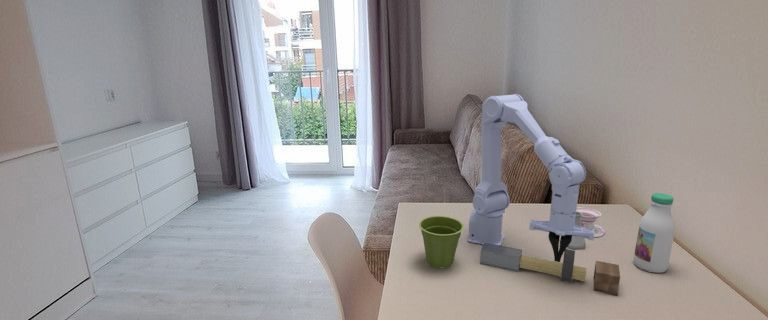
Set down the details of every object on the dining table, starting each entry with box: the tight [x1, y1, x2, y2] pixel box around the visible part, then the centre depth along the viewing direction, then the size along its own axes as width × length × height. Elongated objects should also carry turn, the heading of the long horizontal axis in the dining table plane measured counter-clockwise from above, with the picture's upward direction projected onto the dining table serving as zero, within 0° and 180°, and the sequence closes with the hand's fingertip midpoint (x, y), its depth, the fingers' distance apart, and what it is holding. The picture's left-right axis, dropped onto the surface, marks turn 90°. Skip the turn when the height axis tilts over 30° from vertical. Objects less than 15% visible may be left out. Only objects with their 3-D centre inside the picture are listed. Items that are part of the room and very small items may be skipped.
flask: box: [567, 211, 586, 250], centre depth 120 cm, size 7×7×10 cm
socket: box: [592, 260, 621, 297], centre depth 100 cm, size 5×6×5 cm
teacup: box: [576, 206, 606, 238], centre depth 131 cm, size 12×12×6 cm
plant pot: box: [418, 215, 465, 269], centre depth 110 cm, size 12×12×11 cm
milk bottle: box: [632, 192, 676, 274], centre depth 107 cm, size 8×8×20 cm
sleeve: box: [479, 243, 523, 273], centre depth 110 cm, size 10×4×4 cm, turn 64°
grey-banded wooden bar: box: [519, 248, 587, 284], centre depth 105 cm, size 20×4×7 cm, turn 64°
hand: (557, 259), depth 104 cm, fingers closed
